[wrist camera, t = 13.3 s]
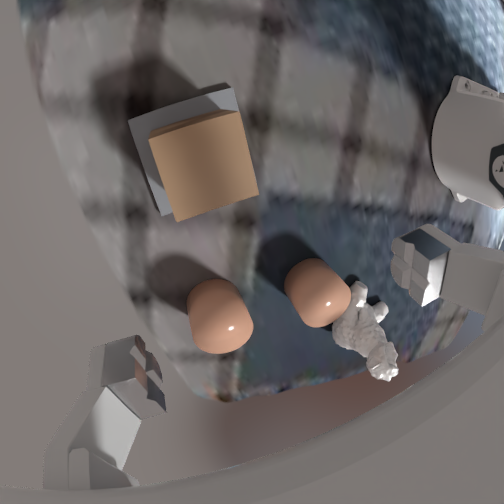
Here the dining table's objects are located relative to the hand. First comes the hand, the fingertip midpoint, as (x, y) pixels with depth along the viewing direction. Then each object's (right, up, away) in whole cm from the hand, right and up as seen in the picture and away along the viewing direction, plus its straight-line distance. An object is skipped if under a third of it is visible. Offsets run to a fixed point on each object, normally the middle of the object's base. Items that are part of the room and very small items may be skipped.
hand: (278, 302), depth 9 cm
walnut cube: (-5, +10, +15) cm, 19 cm away
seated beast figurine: (+13, -7, +32) cm, 36 cm away
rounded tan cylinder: (+6, -2, +27) cm, 27 cm away
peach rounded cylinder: (-5, -4, +24) cm, 25 cm away
